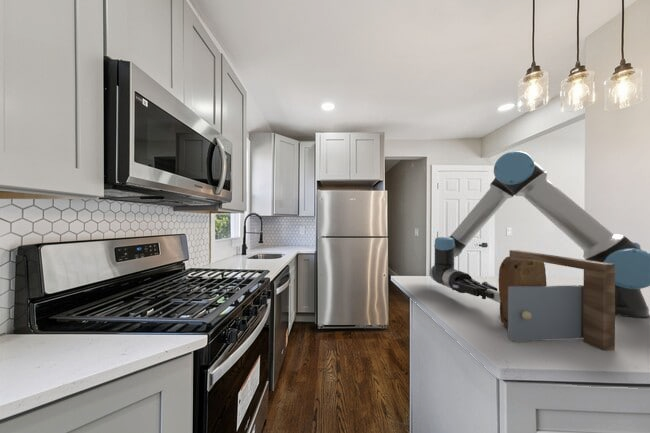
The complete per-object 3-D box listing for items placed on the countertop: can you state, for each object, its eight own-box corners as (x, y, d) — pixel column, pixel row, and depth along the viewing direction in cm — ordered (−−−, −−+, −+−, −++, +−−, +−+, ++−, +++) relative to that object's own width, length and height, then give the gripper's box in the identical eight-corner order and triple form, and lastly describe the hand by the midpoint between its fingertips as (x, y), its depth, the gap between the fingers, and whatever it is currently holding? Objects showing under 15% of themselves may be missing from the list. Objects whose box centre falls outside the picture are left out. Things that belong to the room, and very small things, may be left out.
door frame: (517, 309, 92) (517, 250, 93) (614, 350, 64) (615, 264, 64) (509, 309, 92) (509, 250, 92) (603, 350, 64) (603, 264, 64)
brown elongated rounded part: (550, 339, 69) (550, 260, 69) (520, 339, 69) (521, 260, 69) (519, 323, 80) (519, 254, 80) (494, 323, 80) (494, 254, 80)
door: (582, 335, 71) (582, 285, 71) (596, 341, 67) (596, 288, 68) (507, 338, 69) (507, 286, 69) (518, 344, 65) (518, 289, 65)
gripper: (473, 290, 104) (525, 311, 81) (441, 290, 103) (483, 312, 80) (474, 270, 104) (525, 286, 81) (441, 270, 103) (483, 286, 80)
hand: (504, 299), depth 80 cm, fingers closed
